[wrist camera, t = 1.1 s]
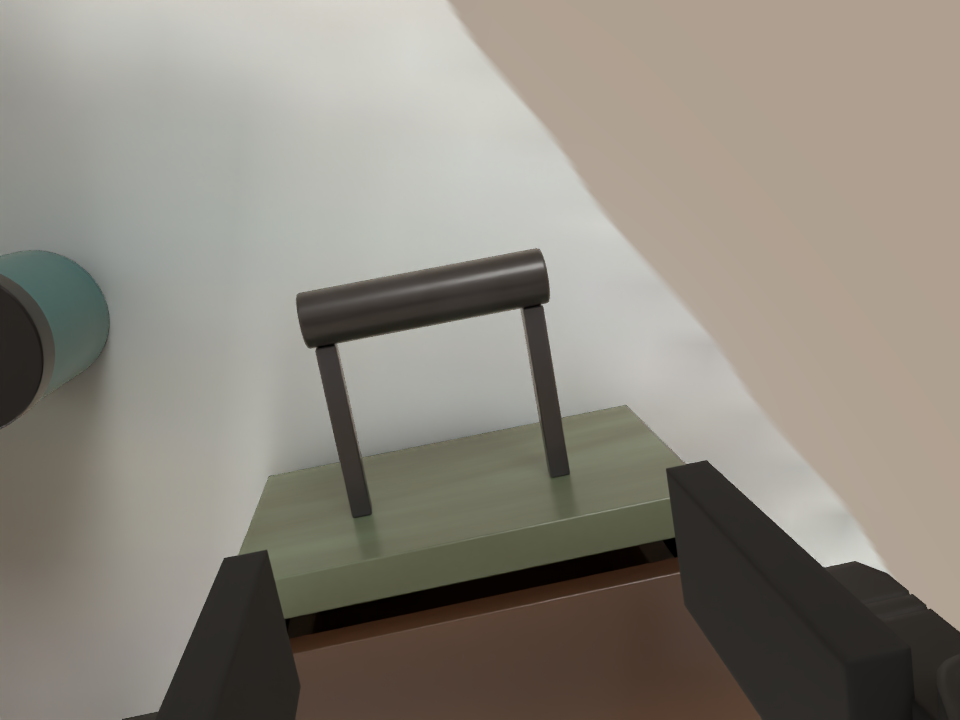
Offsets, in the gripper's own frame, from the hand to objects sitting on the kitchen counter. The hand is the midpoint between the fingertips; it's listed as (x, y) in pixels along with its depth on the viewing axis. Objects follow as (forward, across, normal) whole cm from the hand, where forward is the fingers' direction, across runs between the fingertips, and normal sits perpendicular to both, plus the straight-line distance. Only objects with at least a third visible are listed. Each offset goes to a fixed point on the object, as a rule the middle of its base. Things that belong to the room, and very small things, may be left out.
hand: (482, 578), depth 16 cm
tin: (+17, -13, +4) cm, 22 cm away
